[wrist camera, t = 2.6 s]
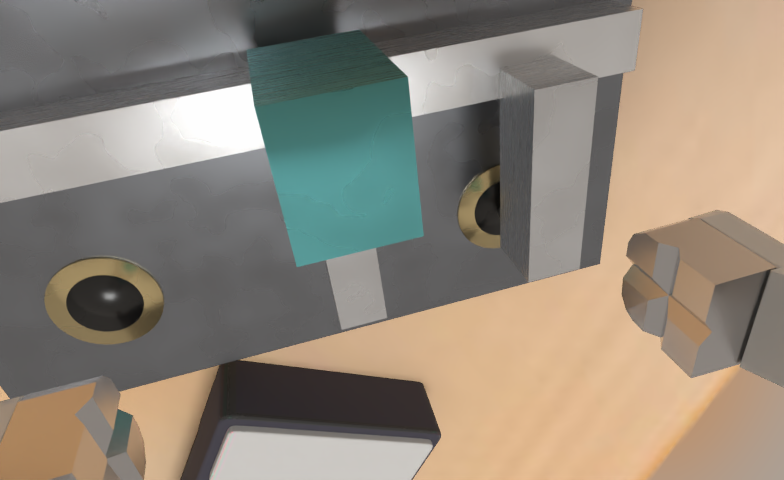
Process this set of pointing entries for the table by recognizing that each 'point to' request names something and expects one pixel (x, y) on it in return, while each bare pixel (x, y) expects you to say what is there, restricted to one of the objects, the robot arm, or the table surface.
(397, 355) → the table surface
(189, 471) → the calculator
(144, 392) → the table surface
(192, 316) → the hole plate
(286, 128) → the slider
